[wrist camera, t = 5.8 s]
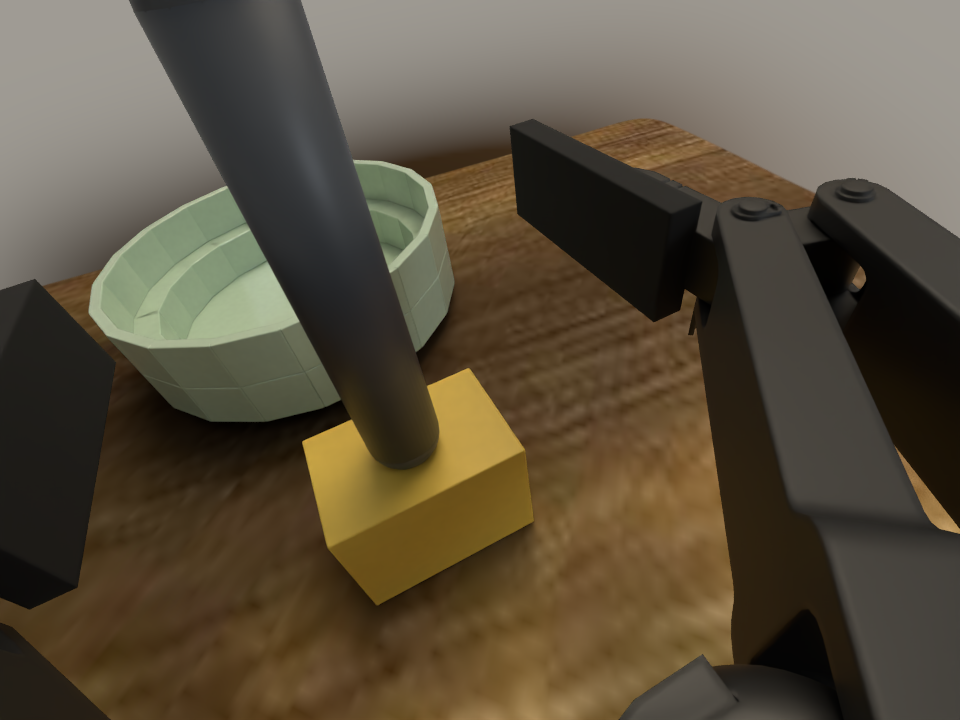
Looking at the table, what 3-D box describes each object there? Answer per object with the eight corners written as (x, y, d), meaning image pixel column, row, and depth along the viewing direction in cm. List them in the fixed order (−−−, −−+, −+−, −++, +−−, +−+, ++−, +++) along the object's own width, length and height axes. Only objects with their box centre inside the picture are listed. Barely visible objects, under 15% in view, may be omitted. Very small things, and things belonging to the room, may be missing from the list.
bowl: (97, 385, 26) (13, 307, 22) (297, 227, 36) (264, 155, 32) (342, 478, 19) (284, 390, 15) (501, 252, 30) (490, 166, 26)
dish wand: (376, 606, 16) (-216, -80, 4) (348, 508, 18) (-50, -67, 7) (534, 521, 17) (448, -182, 5) (486, 442, 20) (357, -137, 8)
